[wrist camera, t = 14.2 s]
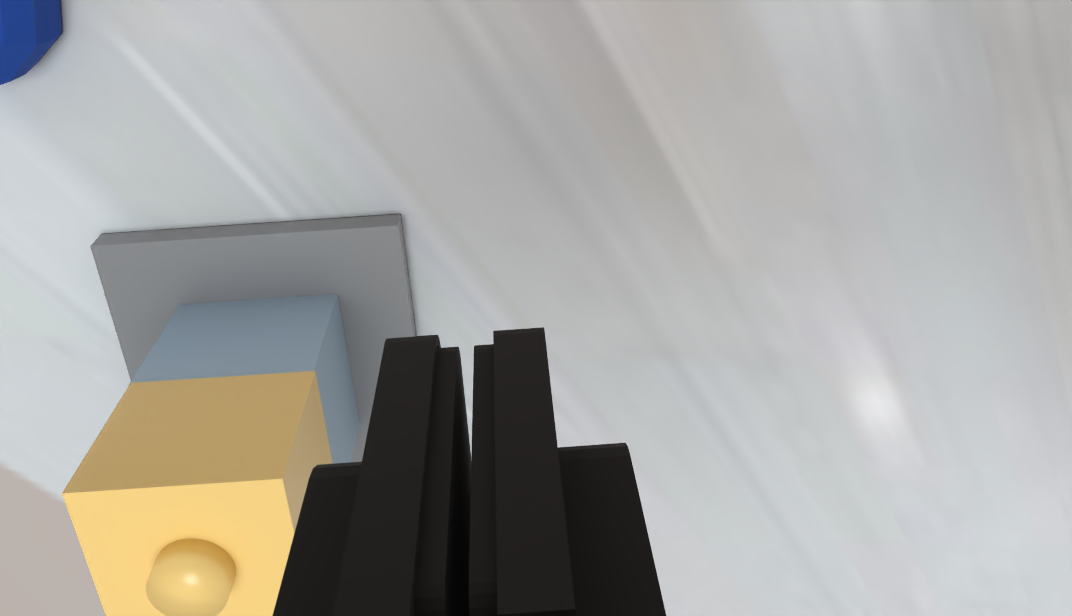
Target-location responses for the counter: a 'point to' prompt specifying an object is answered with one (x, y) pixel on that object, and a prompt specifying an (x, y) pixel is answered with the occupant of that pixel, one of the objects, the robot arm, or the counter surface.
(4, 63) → the toy
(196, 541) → the ochre brick
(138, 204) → the counter surface
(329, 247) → the baseplate
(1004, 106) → the counter surface
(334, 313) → the blue brick
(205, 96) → the counter surface
